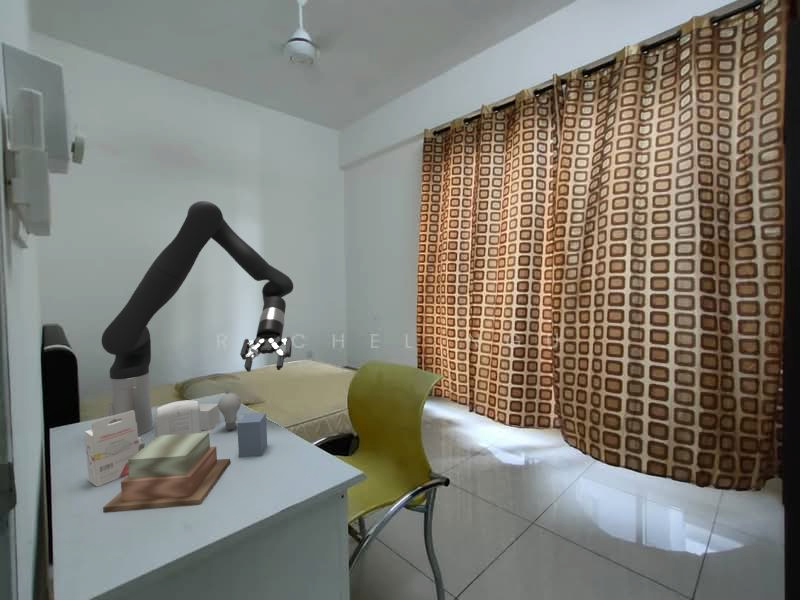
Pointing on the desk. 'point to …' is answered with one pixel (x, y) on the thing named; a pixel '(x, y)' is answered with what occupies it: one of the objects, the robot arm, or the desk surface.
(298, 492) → the desk surface
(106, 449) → the ink cartridge box
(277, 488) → the desk surface
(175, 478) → the stepped tiered pedestal
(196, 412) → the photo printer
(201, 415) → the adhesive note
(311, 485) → the desk surface
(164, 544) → the desk surface
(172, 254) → the robot arm
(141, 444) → the game die
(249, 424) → the slate brick
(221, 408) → the lightbulb
